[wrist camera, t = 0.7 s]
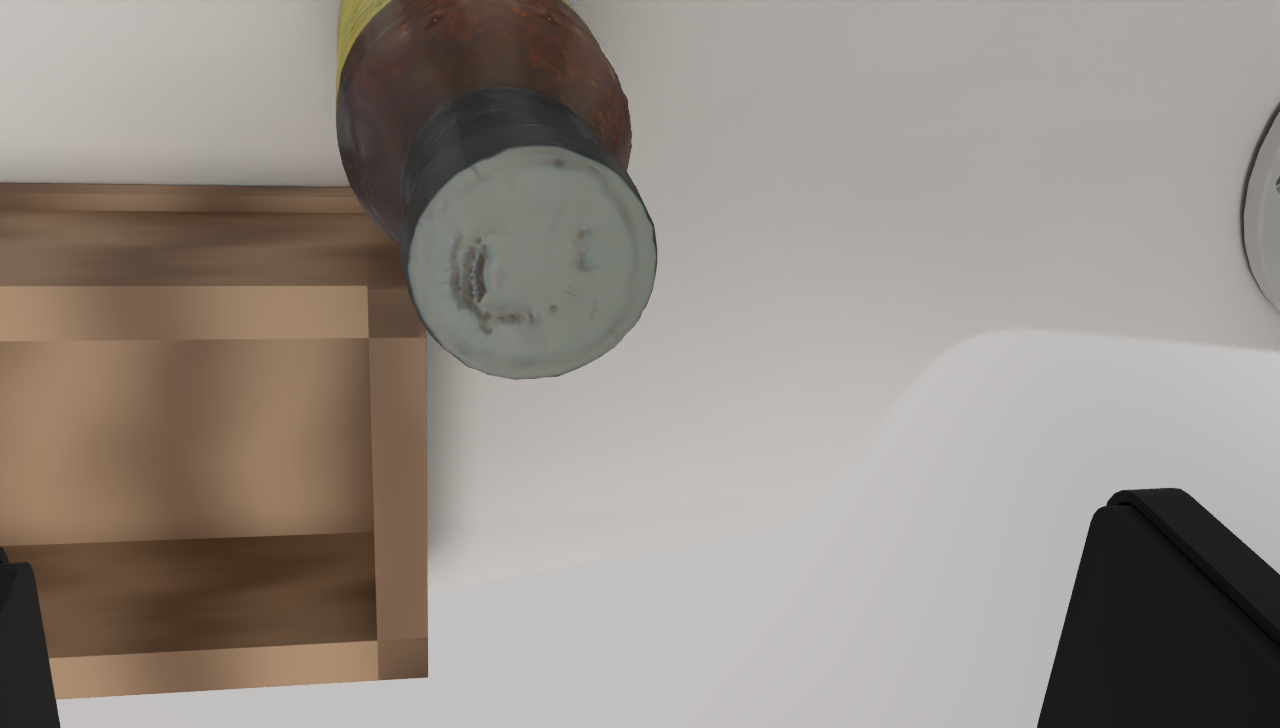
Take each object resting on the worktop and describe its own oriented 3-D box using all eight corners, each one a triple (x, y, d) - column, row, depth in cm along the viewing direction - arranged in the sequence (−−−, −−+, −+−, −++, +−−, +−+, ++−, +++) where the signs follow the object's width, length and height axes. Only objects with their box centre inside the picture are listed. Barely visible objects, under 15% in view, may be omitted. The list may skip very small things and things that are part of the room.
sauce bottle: (304, 62, 36) (215, 335, 19) (403, -132, 35) (408, -33, 17) (498, 167, 39) (581, 497, 21) (601, -9, 37) (784, 189, 19)
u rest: (421, 188, 38) (425, 268, 32) (424, 562, 44) (428, 690, 38) (-65, 182, 36) (-163, 267, 30) (6, 579, 42) (-63, 720, 36)
